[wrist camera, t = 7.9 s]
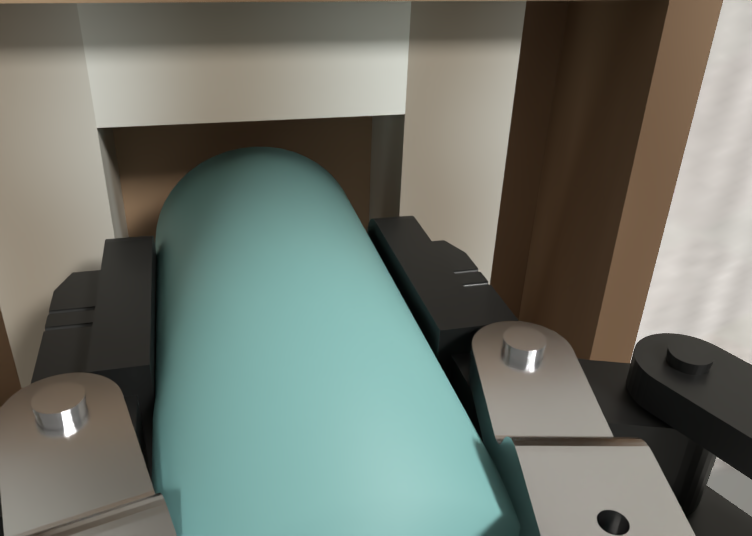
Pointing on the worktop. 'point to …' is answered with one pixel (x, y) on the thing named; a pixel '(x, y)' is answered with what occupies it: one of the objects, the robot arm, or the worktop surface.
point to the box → (359, 135)
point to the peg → (300, 371)
